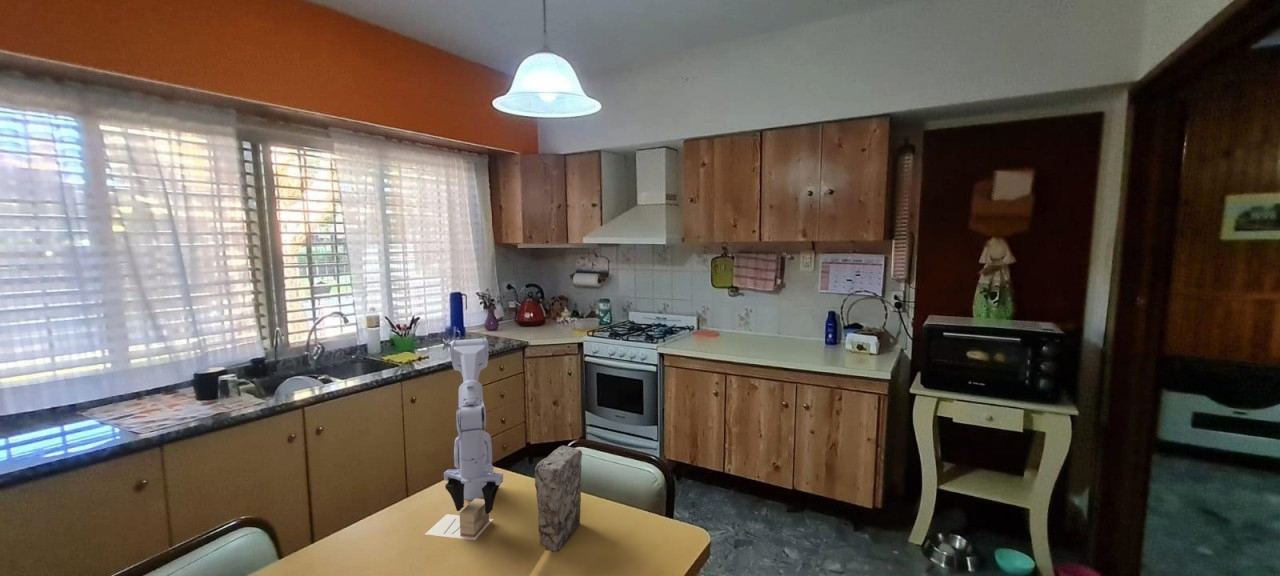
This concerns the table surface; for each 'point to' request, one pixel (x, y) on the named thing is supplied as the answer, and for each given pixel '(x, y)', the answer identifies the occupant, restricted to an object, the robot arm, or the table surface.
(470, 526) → the block
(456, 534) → the board
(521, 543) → the table surface
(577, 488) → the stone block
